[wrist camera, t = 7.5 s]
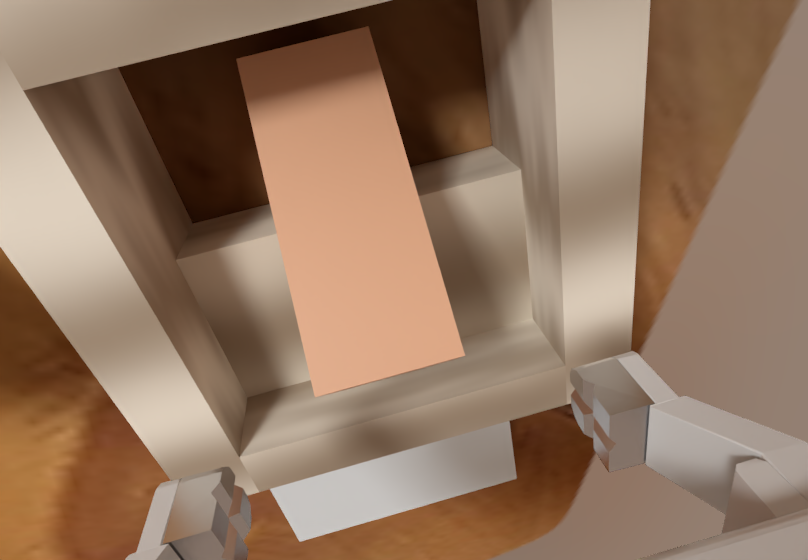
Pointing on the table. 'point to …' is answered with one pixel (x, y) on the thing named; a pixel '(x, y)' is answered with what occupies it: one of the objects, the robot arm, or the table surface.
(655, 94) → the table surface
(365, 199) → the bar
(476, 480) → the mat
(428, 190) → the pocket block
